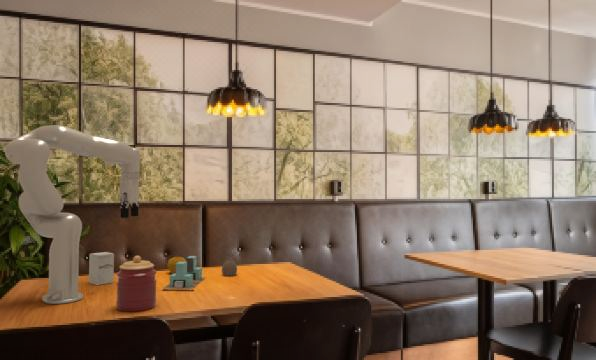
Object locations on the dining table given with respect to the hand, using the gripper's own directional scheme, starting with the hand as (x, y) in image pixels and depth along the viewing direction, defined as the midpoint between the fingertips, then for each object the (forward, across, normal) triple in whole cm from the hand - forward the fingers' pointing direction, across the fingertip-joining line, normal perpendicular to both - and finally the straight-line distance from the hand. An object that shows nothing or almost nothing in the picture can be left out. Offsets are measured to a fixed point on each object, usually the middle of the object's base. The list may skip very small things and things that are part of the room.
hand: (129, 216), depth 188 cm
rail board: (+28, +1, +25) cm, 38 cm away
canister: (+28, +35, +18) cm, 49 cm away
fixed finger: (+27, -7, +25) cm, 38 cm away
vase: (+28, -16, +40) cm, 52 cm away
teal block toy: (+27, +7, +25) cm, 38 cm away
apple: (+28, -18, +15) cm, 37 cm away
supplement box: (+28, 0, -12) cm, 31 cm away
